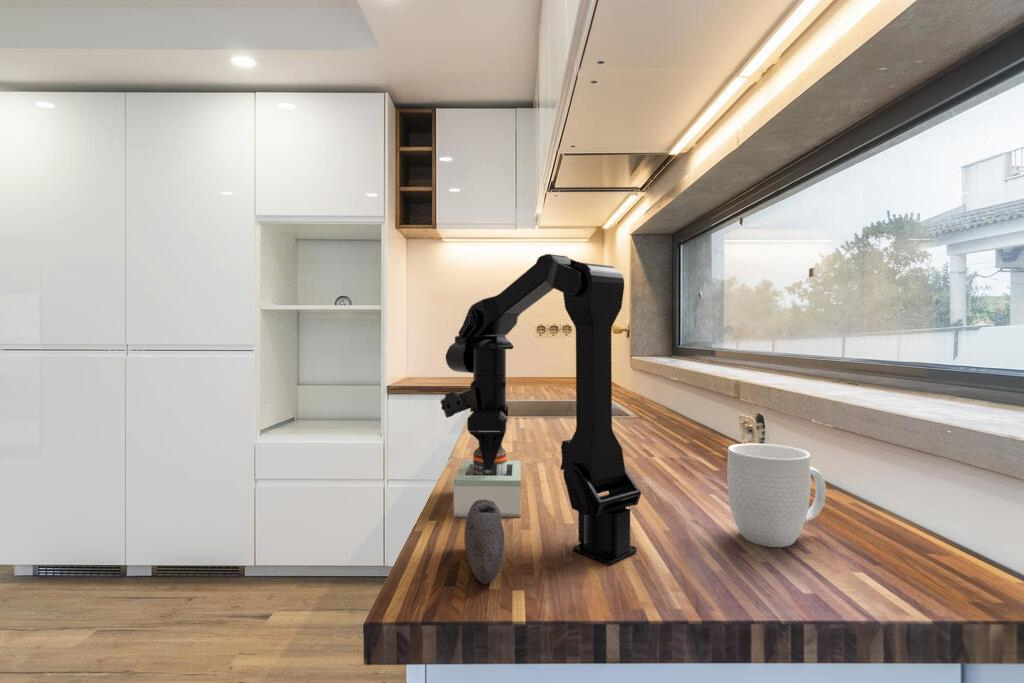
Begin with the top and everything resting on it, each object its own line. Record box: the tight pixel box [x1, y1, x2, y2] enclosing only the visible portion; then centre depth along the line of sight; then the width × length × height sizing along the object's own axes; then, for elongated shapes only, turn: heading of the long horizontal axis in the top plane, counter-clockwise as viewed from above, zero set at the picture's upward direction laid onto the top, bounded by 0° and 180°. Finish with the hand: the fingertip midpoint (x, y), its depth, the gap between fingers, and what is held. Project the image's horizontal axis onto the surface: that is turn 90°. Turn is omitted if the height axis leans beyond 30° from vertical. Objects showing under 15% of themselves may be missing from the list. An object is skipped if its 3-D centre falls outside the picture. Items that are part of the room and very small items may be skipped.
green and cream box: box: [453, 460, 522, 518], centre depth 96 cm, size 11×14×6 cm
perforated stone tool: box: [464, 499, 505, 585], centre depth 70 cm, size 15×5×7 cm, turn 2°
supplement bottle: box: [472, 443, 508, 476], centre depth 96 cm, size 6×6×11 cm
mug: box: [726, 442, 827, 548], centre depth 80 cm, size 15×11×13 cm
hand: (489, 463), depth 96 cm, fingers open, 9 cm apart
